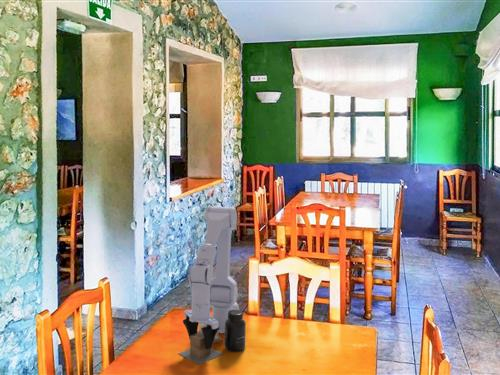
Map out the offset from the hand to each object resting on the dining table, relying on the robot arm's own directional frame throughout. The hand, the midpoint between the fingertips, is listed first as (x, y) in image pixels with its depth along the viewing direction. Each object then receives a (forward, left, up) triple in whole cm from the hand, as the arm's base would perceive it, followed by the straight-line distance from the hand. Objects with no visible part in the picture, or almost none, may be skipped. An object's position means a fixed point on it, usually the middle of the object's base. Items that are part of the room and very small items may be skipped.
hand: (200, 344), depth 161 cm
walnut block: (0, 0, -3) cm, 3 cm away
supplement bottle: (-11, +4, -3) cm, 12 cm away
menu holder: (-10, -8, -3) cm, 13 cm away
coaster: (0, 0, -3) cm, 3 cm away
